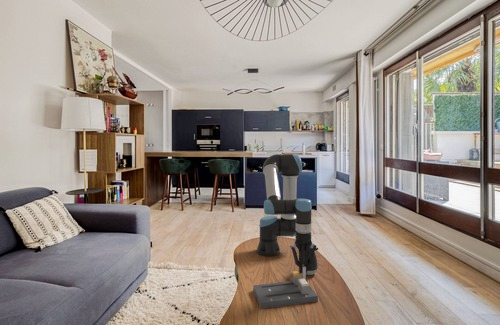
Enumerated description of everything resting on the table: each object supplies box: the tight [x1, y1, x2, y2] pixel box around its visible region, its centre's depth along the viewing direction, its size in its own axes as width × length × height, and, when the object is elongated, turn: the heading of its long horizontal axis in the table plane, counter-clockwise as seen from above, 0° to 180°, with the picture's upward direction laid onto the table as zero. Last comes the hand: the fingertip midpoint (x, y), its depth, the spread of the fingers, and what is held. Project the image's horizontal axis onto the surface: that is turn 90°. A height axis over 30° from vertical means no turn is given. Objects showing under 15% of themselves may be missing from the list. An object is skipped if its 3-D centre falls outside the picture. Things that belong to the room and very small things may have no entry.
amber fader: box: [291, 270, 302, 286], centre depth 128 cm, size 5×3×5 cm, turn 11°
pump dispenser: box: [303, 247, 319, 276], centre depth 144 cm, size 10×10×15 cm
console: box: [252, 280, 319, 309], centre depth 122 cm, size 15×26×3 cm, turn 101°
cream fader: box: [298, 279, 310, 294], centre depth 120 cm, size 5×3×5 cm, turn 11°
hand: (303, 279), depth 129 cm, fingers closed
